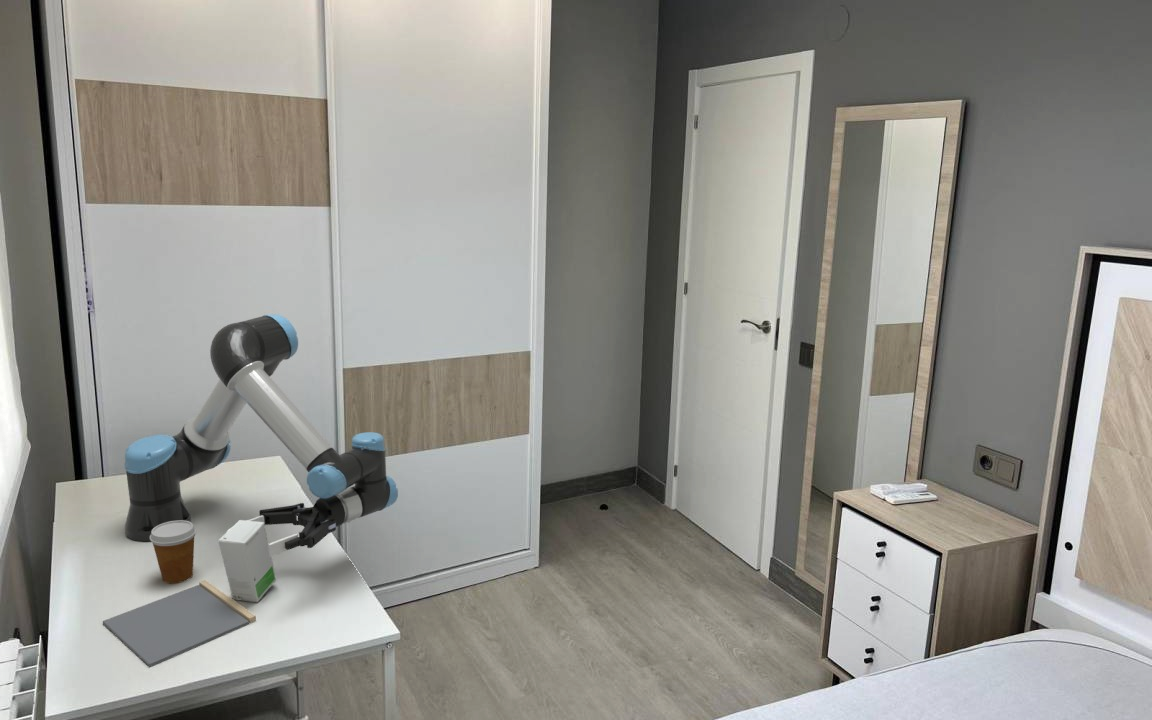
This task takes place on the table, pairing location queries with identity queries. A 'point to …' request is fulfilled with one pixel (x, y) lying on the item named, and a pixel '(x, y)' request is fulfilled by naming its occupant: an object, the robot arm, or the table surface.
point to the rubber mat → (178, 622)
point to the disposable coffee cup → (174, 549)
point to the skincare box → (247, 560)
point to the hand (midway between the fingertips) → (252, 540)
